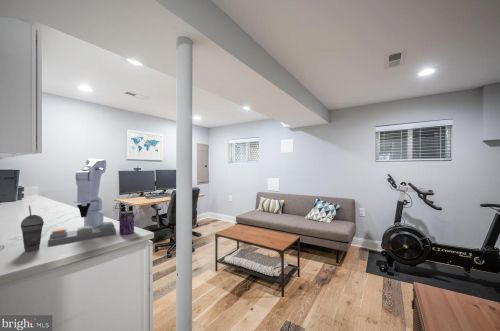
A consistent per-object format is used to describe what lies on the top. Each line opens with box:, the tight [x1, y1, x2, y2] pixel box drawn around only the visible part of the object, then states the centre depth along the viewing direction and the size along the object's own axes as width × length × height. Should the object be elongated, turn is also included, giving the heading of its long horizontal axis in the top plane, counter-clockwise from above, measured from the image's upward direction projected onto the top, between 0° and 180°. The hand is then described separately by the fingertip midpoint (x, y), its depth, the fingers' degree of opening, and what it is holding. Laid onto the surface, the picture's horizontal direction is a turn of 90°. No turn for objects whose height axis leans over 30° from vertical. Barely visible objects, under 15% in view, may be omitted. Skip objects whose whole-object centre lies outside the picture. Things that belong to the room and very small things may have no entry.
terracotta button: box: [53, 227, 65, 234], centre depth 103 cm, size 4×4×2 cm
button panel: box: [47, 222, 117, 247], centre depth 109 cm, size 27×11×4 cm, turn 130°
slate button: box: [102, 221, 113, 226], centre depth 116 cm, size 4×4×2 cm
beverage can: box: [118, 210, 135, 235], centre depth 115 cm, size 7×7×12 cm
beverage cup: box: [20, 205, 45, 253], centre depth 92 cm, size 7×7×20 cm
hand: (83, 217), depth 113 cm, fingers closed
